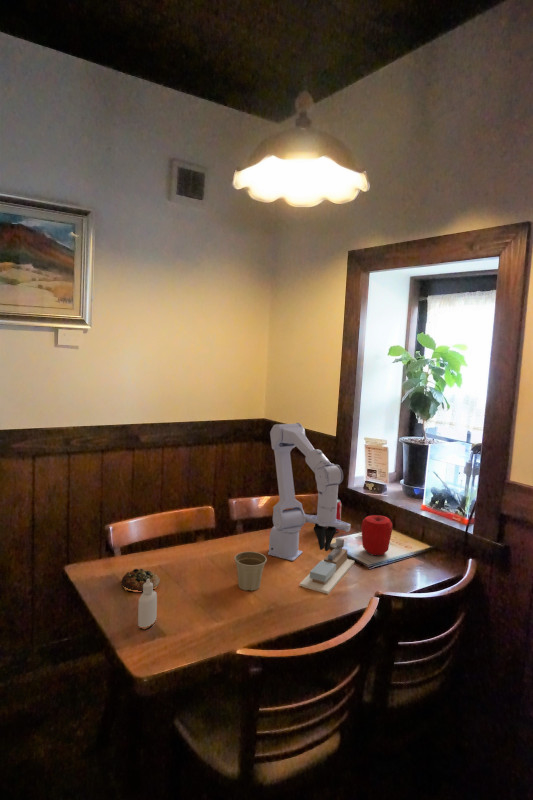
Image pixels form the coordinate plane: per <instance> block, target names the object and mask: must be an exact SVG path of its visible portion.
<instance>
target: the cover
mask: <svg viewBox="0 0 533 800" xmlns="http://www.w3.org/2000/svg"><path fill="white" fill-rule="evenodd" d="M335 571H336V564H333V563H329V562H325V561H323V560H320V561H319V562H318V563H316V565H314V567H313V568H312V569H311V570H310V571H309V574H310V578H312V579H315V580H319V581H323V582H326V581H327V580H328V579H329V578H330V577H331V575H332V574H333V573H334V572H335Z"/></svg>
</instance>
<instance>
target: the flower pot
mask: <svg viewBox="0 0 533 800" xmlns="http://www.w3.org/2000/svg"><path fill="white" fill-rule="evenodd" d="M233 559H234V562H235V565H236V571H237V583H238V587H239V588H240V589H241V590H243V591H252V592H253V590H254V591H257V590H258V589H260V587H261V582H262V576H263V573H264V572H263V571H264V567H265V565H266V564H267V560H268V558H267V557H266V555H264V554H263V553H260V552H257V551H242V552H239V553H237V554H235V555H234V557H233Z"/></svg>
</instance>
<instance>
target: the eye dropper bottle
mask: <svg viewBox="0 0 533 800" xmlns="http://www.w3.org/2000/svg"><path fill="white" fill-rule="evenodd" d="M137 608H138V609H137V610H138V612H137V614H138V615H137V616H138V617H137V622H138V623H137V627H138V626H140V627H147V626H150V625H151V624H153V623H154V622H155V620H156V621H157V619H156V618H157V617H158V616H157V614H158V612H157V611H158V610H157V609H158V593H157V591H155V590H153V583H151V582H150V579H147V581H146V583H144V584H143V592H142V593H141V595H140V596H139V598H138V607H137Z"/></svg>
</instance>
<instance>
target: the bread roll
mask: <svg viewBox="0 0 533 800" xmlns="http://www.w3.org/2000/svg"><path fill="white" fill-rule="evenodd" d="M147 579H150V582H151V583H153V588H155V587H156V586H158V587H159V584H160V580H161V579H160V577H159V576H158V575H157V573H154V572H153V571H150V570H146V569H143V568H134V569H133V570H131V571H130V572H129V571H127V572H126V573H125V574H124V576H123V577H122V579H121V583H122V584H121V583H120V584H121V586H122V585H123V586H124V587H126V588H128V589H131V590H138V591H143V584H144V583H146V581H147Z"/></svg>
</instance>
